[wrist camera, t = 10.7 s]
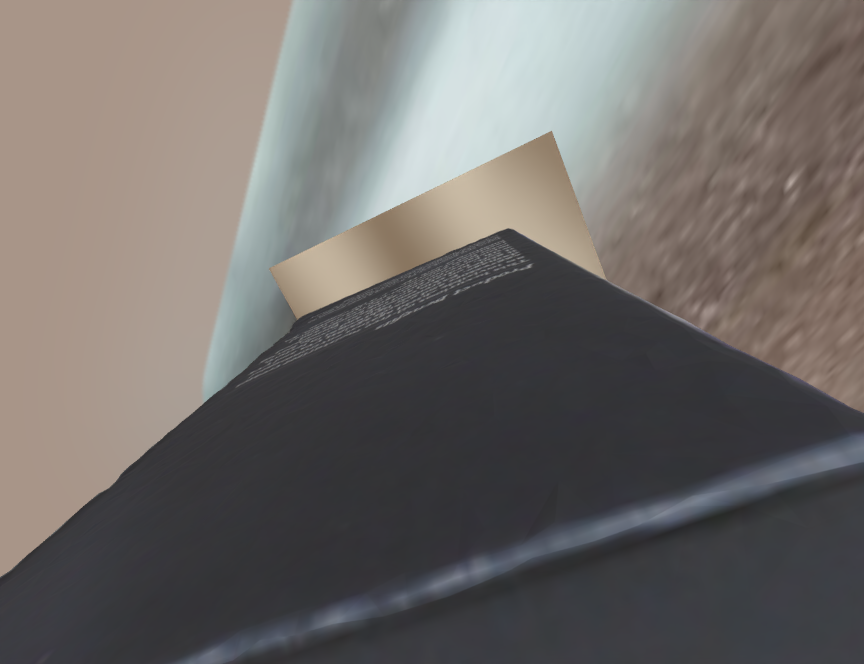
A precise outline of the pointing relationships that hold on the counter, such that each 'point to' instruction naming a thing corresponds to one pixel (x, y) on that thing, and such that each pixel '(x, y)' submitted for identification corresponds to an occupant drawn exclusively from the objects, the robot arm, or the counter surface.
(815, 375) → the counter surface
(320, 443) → the small box
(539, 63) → the counter surface
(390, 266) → the birch block
